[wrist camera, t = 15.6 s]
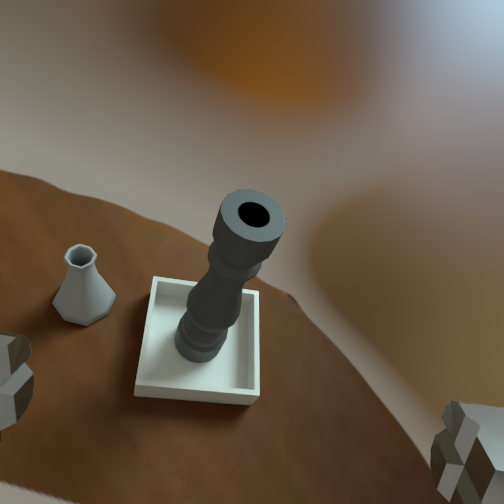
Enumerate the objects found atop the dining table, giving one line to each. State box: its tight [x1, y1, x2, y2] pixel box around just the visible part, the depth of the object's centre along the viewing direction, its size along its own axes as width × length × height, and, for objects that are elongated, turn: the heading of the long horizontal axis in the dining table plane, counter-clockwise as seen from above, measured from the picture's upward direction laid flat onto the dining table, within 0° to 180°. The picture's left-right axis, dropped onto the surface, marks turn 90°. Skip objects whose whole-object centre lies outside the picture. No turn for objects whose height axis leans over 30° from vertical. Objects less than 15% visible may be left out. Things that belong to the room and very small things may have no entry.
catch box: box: [134, 276, 260, 406], centre depth 52 cm, size 14×14×4 cm
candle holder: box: [174, 189, 286, 363], centre depth 44 cm, size 6×6×25 cm
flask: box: [52, 244, 116, 326], centre depth 49 cm, size 7×7×10 cm
